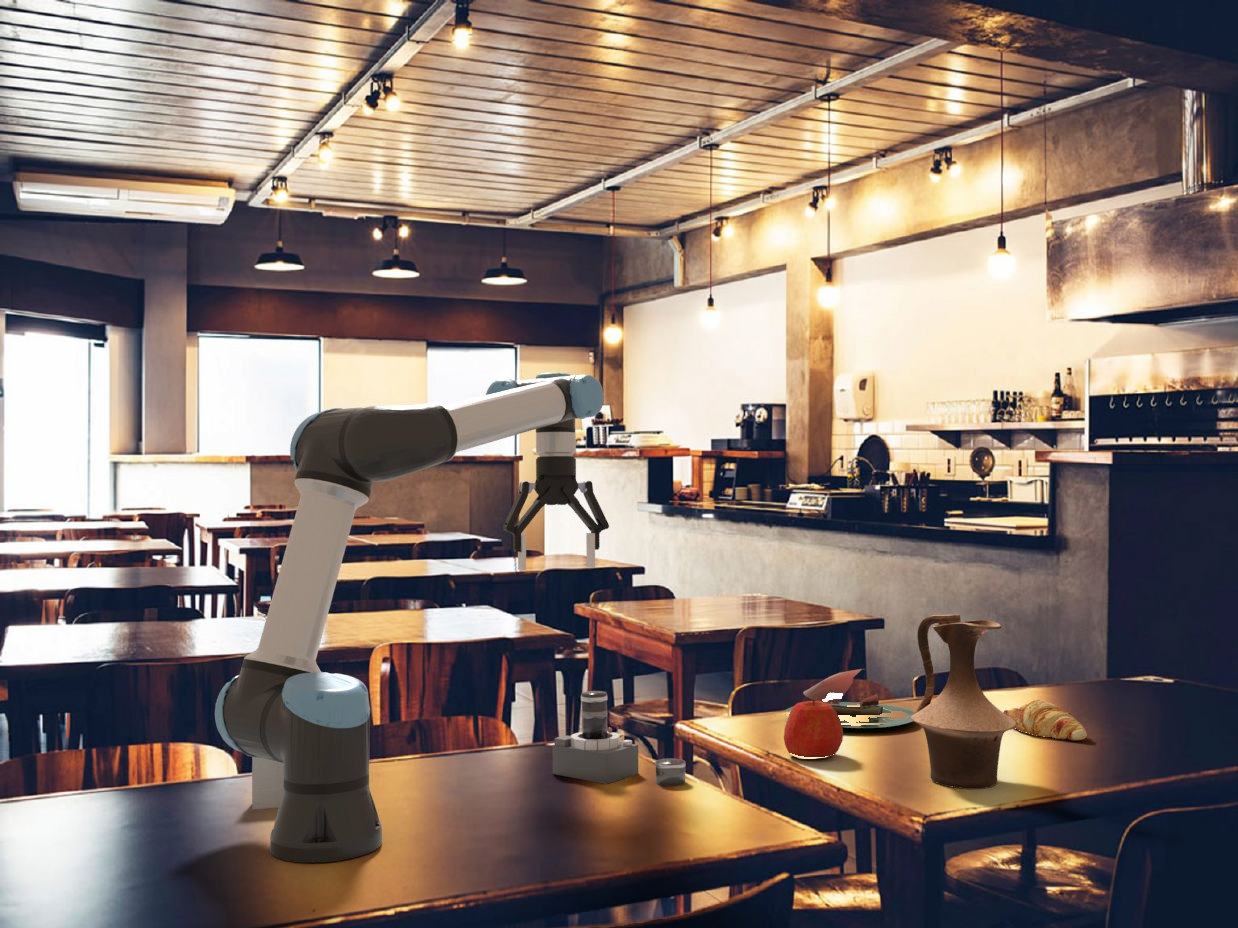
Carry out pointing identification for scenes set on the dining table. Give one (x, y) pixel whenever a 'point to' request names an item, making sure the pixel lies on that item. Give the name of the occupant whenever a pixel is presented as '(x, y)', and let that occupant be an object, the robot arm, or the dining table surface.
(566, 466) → the robot arm
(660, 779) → the cylinder
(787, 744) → the apple
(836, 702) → the plate
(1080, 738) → the croissant
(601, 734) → the lens
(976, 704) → the pitcher
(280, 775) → the light grey rectangular block
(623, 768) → the camera body
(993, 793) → the dining table surface
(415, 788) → the dining table surface
